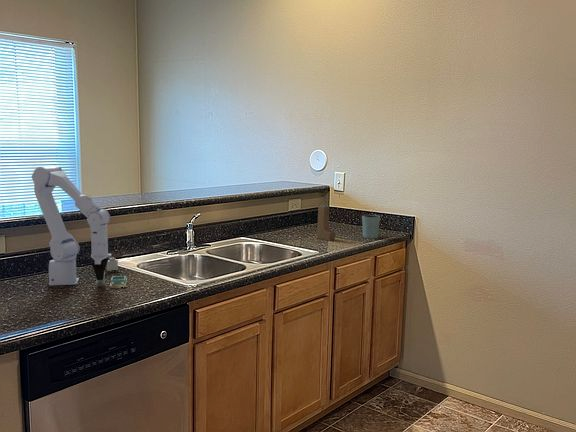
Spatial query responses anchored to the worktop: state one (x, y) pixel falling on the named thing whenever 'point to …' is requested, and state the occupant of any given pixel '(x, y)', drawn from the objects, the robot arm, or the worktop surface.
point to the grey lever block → (112, 264)
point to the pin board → (118, 281)
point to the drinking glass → (370, 226)
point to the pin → (101, 282)
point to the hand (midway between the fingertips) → (100, 278)
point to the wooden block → (324, 224)
